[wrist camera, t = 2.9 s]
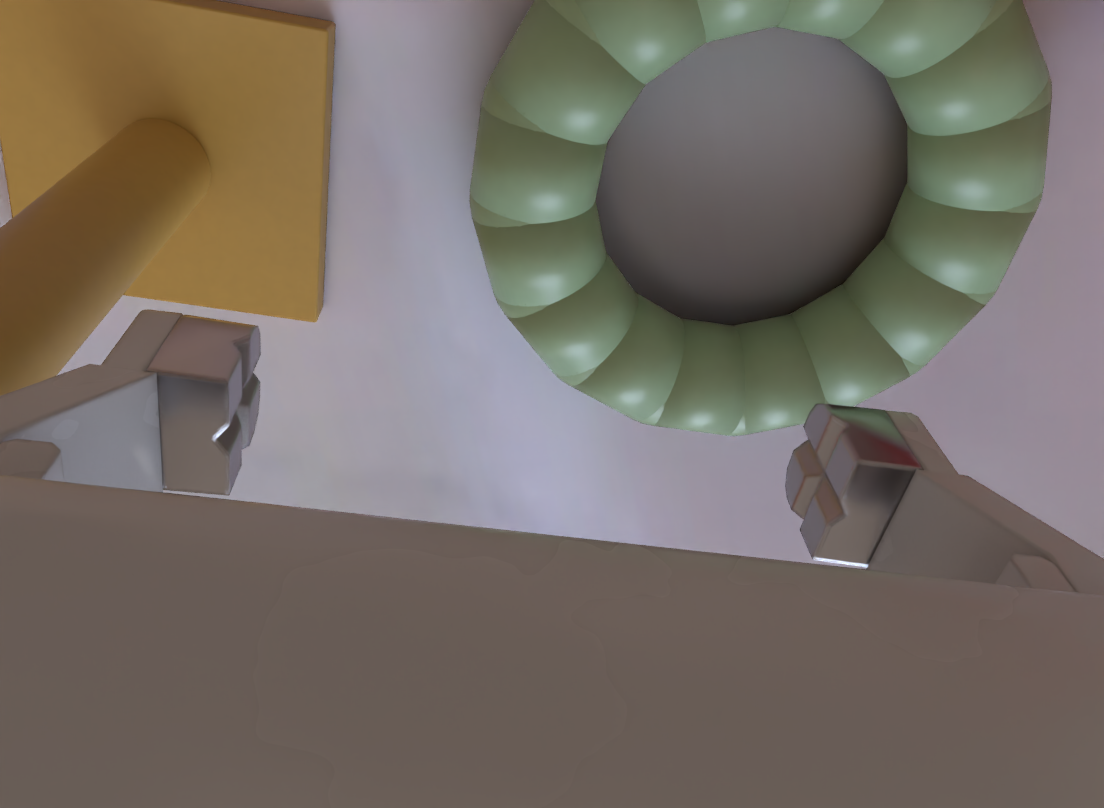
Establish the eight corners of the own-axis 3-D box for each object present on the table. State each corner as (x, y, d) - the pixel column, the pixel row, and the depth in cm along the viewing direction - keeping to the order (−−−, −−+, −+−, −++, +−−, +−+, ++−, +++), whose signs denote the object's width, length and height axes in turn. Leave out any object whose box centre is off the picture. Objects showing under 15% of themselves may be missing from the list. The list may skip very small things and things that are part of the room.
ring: (1117, -68, 22) (1200, -50, 19) (889, 422, 29) (925, 483, 27) (521, -196, 20) (521, -196, 17) (447, 360, 28) (438, 419, 25)
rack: (336, 21, 22) (155, 226, 11) (322, 307, 27) (183, 652, 16) (-8, -41, 21) (-558, 118, 11) (37, 265, 26) (-320, 602, 15)
